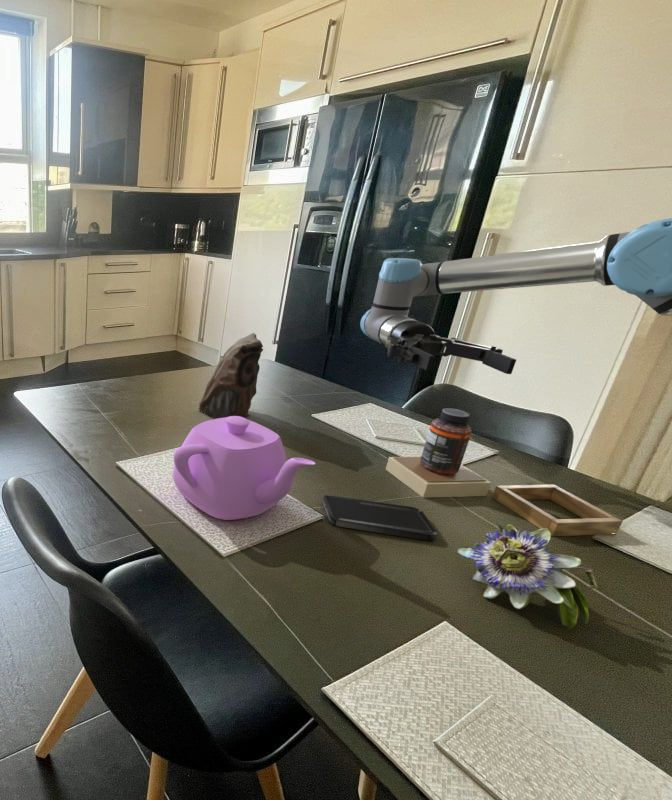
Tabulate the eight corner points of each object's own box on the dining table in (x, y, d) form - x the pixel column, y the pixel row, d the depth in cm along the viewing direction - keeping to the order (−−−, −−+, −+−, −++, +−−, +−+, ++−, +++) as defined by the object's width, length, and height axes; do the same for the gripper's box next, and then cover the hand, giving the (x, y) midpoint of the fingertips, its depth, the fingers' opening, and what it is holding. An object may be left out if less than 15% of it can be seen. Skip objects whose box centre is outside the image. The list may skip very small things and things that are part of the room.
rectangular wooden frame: (548, 496, 87) (553, 484, 86) (616, 534, 77) (623, 521, 76) (491, 497, 86) (496, 485, 85) (552, 536, 76) (558, 523, 75)
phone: (439, 536, 74) (332, 519, 77) (437, 542, 74) (330, 525, 78) (420, 507, 81) (322, 493, 84) (418, 513, 81) (321, 498, 85)
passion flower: (477, 629, 66) (436, 544, 67) (524, 593, 69) (484, 513, 71) (581, 650, 55) (530, 549, 56) (630, 606, 59) (581, 512, 60)
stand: (442, 468, 96) (447, 454, 95) (486, 496, 87) (491, 481, 86) (385, 469, 95) (389, 456, 94) (423, 497, 86) (427, 483, 85)
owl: (240, 405, 125) (252, 330, 118) (270, 425, 114) (285, 343, 107) (196, 409, 123) (205, 332, 115) (221, 430, 111) (233, 345, 104)
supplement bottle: (453, 464, 91) (472, 409, 87) (461, 479, 86) (482, 421, 82) (416, 457, 94) (433, 403, 89) (421, 471, 89) (440, 415, 84)
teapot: (140, 491, 86) (146, 414, 81) (227, 465, 96) (238, 394, 90) (234, 571, 68) (251, 477, 62) (332, 529, 77) (354, 444, 71)
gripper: (462, 355, 107) (538, 388, 87) (344, 350, 109) (391, 381, 89) (473, 321, 104) (554, 347, 84) (351, 317, 106) (402, 341, 87)
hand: (470, 365), depth 87 cm, fingers open, 13 cm apart
